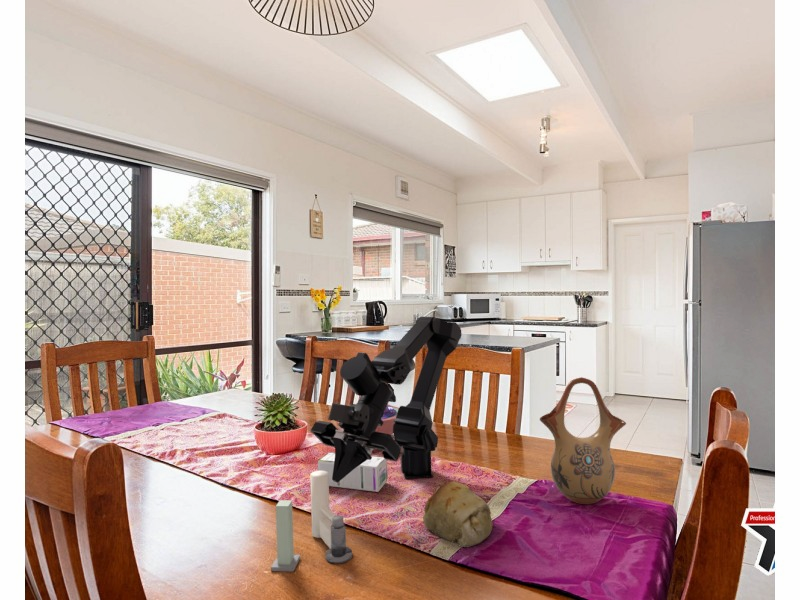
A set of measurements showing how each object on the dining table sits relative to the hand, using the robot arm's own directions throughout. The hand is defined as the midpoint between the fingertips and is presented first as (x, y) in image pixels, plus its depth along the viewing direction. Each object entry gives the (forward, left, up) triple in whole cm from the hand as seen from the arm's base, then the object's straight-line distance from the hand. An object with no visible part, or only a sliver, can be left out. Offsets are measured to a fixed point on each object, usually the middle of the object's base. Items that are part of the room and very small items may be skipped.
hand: (334, 481), depth 90 cm
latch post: (+8, +12, -8) cm, 16 cm away
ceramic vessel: (-49, -3, -8) cm, 50 cm away
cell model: (-8, -48, -9) cm, 49 cm away
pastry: (-22, +4, -9) cm, 24 cm away
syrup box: (+3, -21, -5) cm, 22 cm away
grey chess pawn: (-1, +10, -8) cm, 13 cm away
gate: (+1, +6, -8) cm, 10 cm away
